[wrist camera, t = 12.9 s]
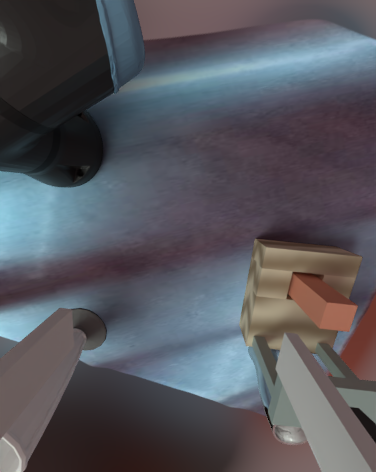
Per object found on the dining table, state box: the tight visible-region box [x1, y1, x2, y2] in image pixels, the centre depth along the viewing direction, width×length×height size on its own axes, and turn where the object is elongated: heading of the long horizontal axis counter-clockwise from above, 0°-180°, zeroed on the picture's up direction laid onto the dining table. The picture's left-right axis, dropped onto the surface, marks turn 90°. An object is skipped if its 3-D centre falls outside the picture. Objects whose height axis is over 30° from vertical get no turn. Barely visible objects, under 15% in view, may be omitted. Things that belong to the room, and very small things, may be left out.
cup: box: [0, 309, 106, 472], centre depth 33 cm, size 12×12×22 cm
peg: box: [288, 272, 358, 332], centre depth 32 cm, size 4×4×14 cm
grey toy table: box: [252, 336, 376, 428], centre depth 29 cm, size 7×16×12 cm, turn 85°
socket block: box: [239, 239, 363, 354], centre depth 36 cm, size 20×16×6 cm
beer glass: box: [248, 346, 308, 445], centre depth 36 cm, size 7×7×15 cm
